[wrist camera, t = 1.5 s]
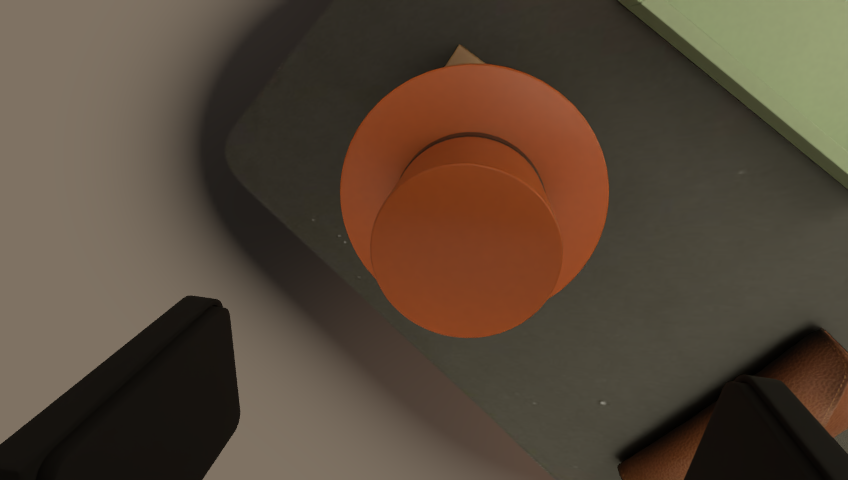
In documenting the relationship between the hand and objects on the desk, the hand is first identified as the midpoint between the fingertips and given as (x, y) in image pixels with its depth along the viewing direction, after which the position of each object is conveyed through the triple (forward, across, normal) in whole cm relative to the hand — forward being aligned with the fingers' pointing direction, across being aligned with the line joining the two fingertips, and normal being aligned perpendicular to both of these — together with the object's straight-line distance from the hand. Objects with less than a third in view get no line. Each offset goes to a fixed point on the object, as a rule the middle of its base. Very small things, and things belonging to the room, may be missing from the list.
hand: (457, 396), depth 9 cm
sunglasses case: (+23, -22, +18) cm, 37 cm away
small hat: (+12, 0, 0) cm, 12 cm away
